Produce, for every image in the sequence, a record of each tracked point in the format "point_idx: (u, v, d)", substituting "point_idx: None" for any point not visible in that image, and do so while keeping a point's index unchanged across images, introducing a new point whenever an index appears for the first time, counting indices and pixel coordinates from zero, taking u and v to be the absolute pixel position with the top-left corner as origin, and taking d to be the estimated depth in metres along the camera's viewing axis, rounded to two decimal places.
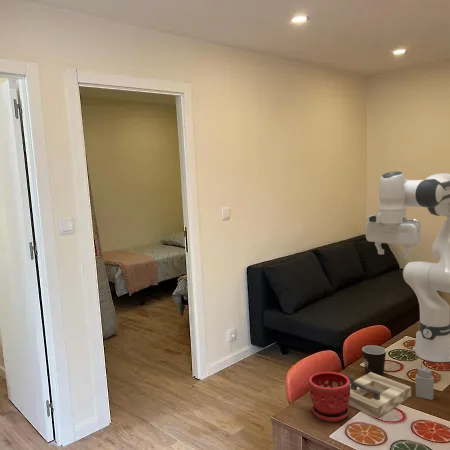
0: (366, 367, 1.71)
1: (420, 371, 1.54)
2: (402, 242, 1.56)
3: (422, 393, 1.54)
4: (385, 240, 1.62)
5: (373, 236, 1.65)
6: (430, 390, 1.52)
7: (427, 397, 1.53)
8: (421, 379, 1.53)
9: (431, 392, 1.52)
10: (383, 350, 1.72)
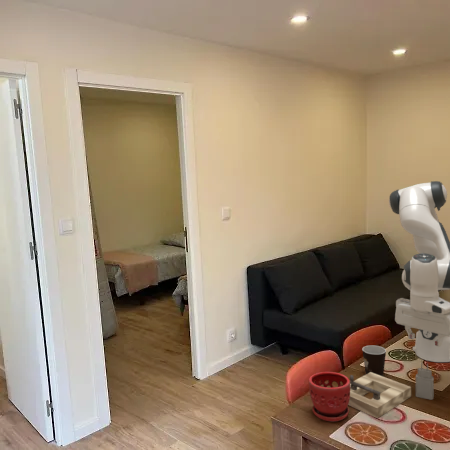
0: (366, 367, 1.71)
1: (420, 371, 1.54)
2: None
3: (422, 393, 1.54)
4: None
5: None
6: (430, 390, 1.52)
7: (427, 397, 1.53)
8: (421, 379, 1.53)
9: (431, 392, 1.52)
10: (383, 350, 1.72)
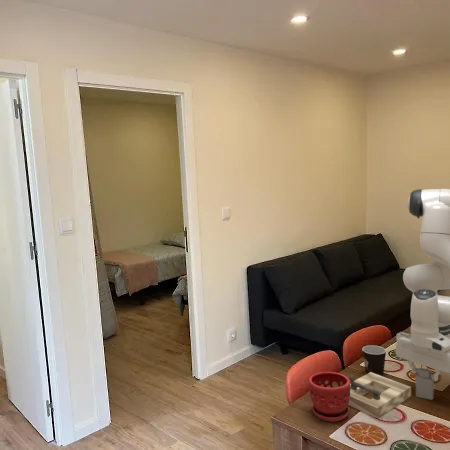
0: (366, 367, 1.71)
1: (420, 371, 1.54)
2: None
3: (422, 393, 1.54)
4: None
5: None
6: (430, 390, 1.52)
7: (427, 397, 1.53)
8: (421, 379, 1.53)
9: (431, 392, 1.52)
10: (383, 350, 1.72)
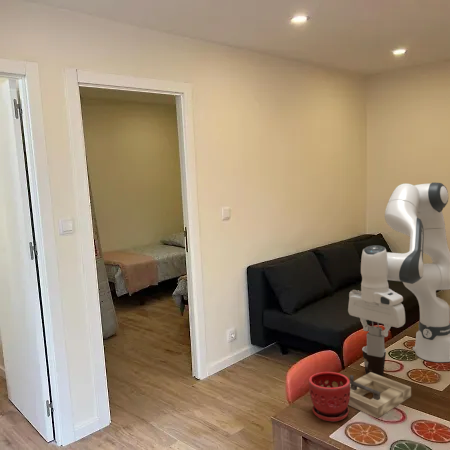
0: (366, 367, 1.71)
1: (371, 329, 1.53)
2: None
3: (373, 351, 1.54)
4: None
5: None
6: (380, 348, 1.52)
7: (377, 355, 1.53)
8: (372, 337, 1.53)
9: (381, 349, 1.52)
10: None
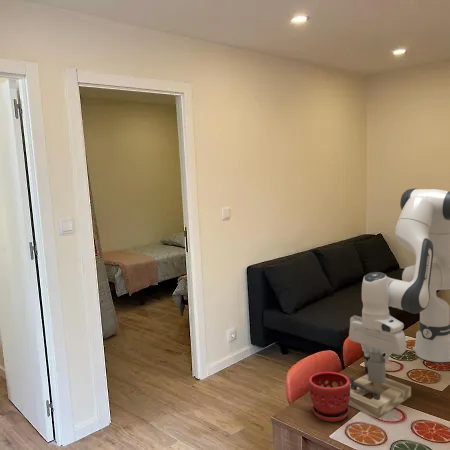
0: (366, 367, 1.71)
1: (372, 355, 1.54)
2: None
3: (374, 377, 1.54)
4: None
5: None
6: (382, 374, 1.53)
7: (379, 381, 1.53)
8: (373, 363, 1.54)
9: (382, 376, 1.53)
10: None
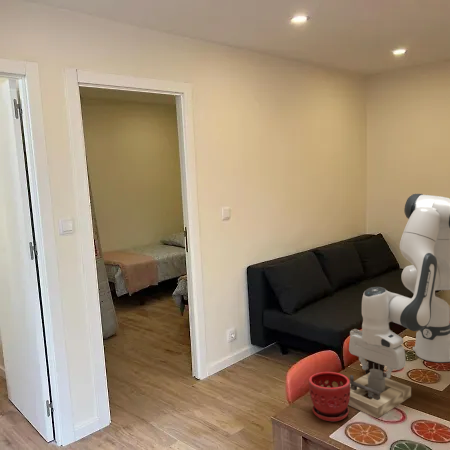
0: None
1: (372, 372, 1.55)
2: None
3: None
4: None
5: None
6: (381, 391, 1.54)
7: None
8: (373, 380, 1.55)
9: None
10: None
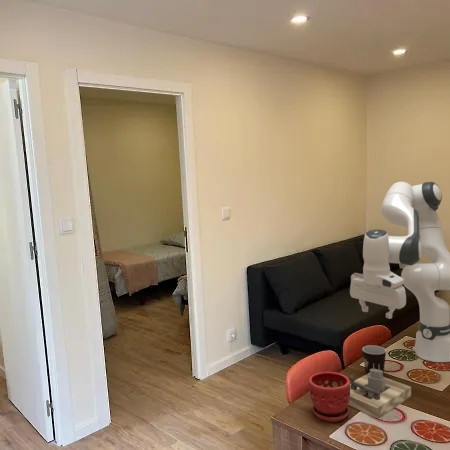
0: (366, 367, 1.71)
1: (372, 372, 1.55)
2: None
3: None
4: None
5: None
6: (381, 391, 1.54)
7: None
8: (373, 380, 1.55)
9: None
10: (383, 350, 1.72)
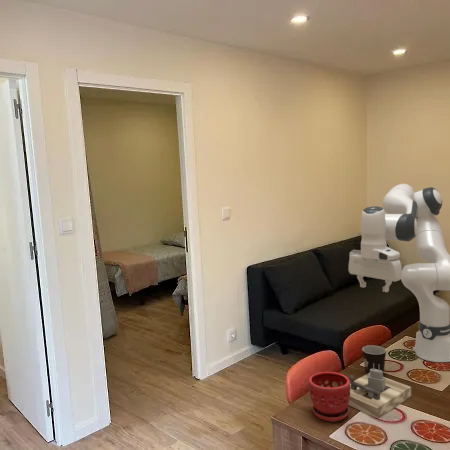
0: (366, 367, 1.71)
1: (372, 372, 1.55)
2: None
3: None
4: None
5: None
6: (381, 391, 1.54)
7: None
8: (373, 380, 1.55)
9: None
10: (383, 350, 1.72)
